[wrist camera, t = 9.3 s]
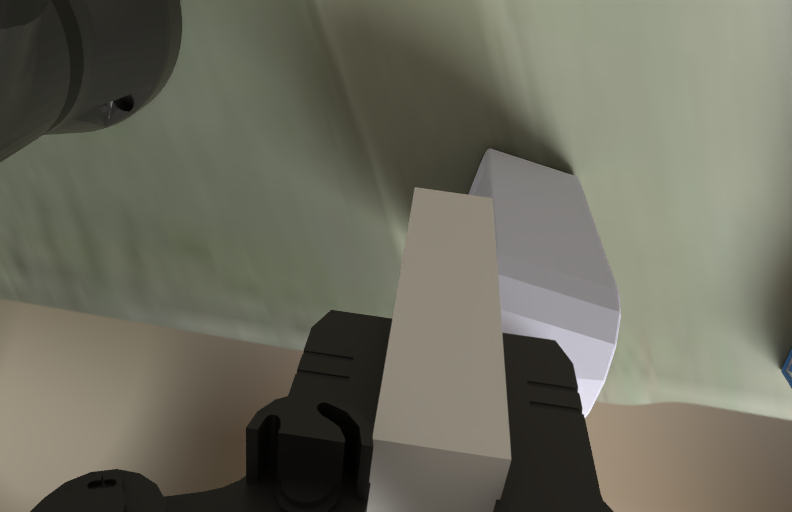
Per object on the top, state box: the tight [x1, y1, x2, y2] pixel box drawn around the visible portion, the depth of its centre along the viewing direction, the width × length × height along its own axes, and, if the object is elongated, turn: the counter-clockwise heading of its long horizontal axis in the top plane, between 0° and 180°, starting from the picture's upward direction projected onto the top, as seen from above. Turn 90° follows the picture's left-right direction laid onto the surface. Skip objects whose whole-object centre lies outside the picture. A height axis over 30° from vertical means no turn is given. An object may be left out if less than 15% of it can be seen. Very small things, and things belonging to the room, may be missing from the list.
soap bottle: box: [468, 148, 621, 418], centre depth 35 cm, size 9×7×23 cm
